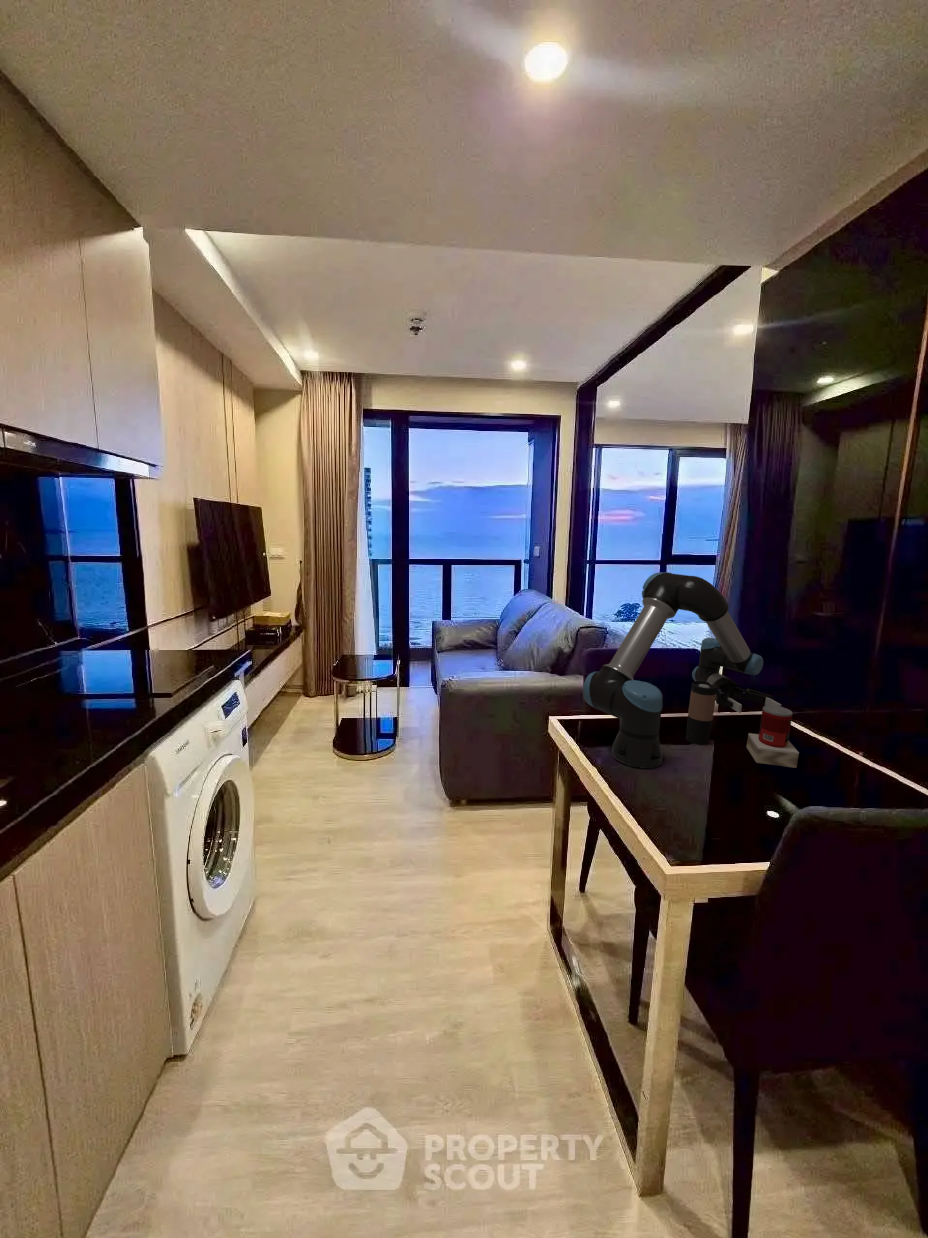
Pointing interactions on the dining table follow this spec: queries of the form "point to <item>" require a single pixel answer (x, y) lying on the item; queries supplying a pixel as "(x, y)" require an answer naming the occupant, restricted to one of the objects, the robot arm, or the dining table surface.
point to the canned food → (775, 726)
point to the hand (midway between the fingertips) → (760, 708)
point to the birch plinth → (772, 753)
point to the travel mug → (700, 712)
